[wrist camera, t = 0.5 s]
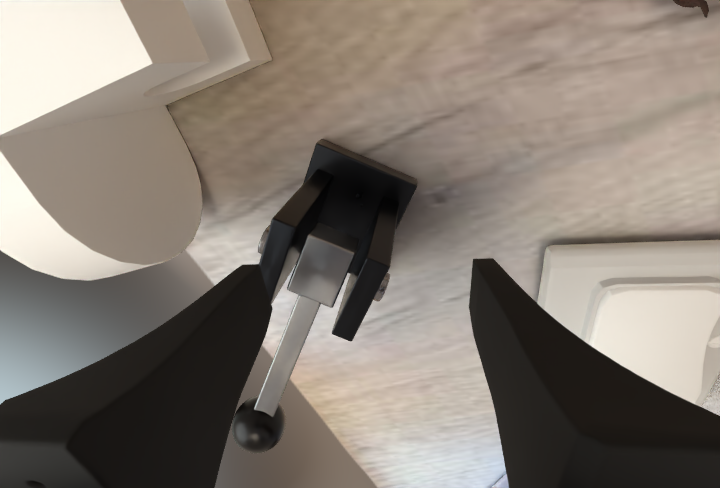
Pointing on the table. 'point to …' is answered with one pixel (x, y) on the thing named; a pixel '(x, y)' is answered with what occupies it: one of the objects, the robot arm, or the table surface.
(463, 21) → the table surface
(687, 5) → the decorative bird
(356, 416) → the table surface
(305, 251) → the lever
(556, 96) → the table surface
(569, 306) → the light switch
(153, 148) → the white piece
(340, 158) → the bracket
